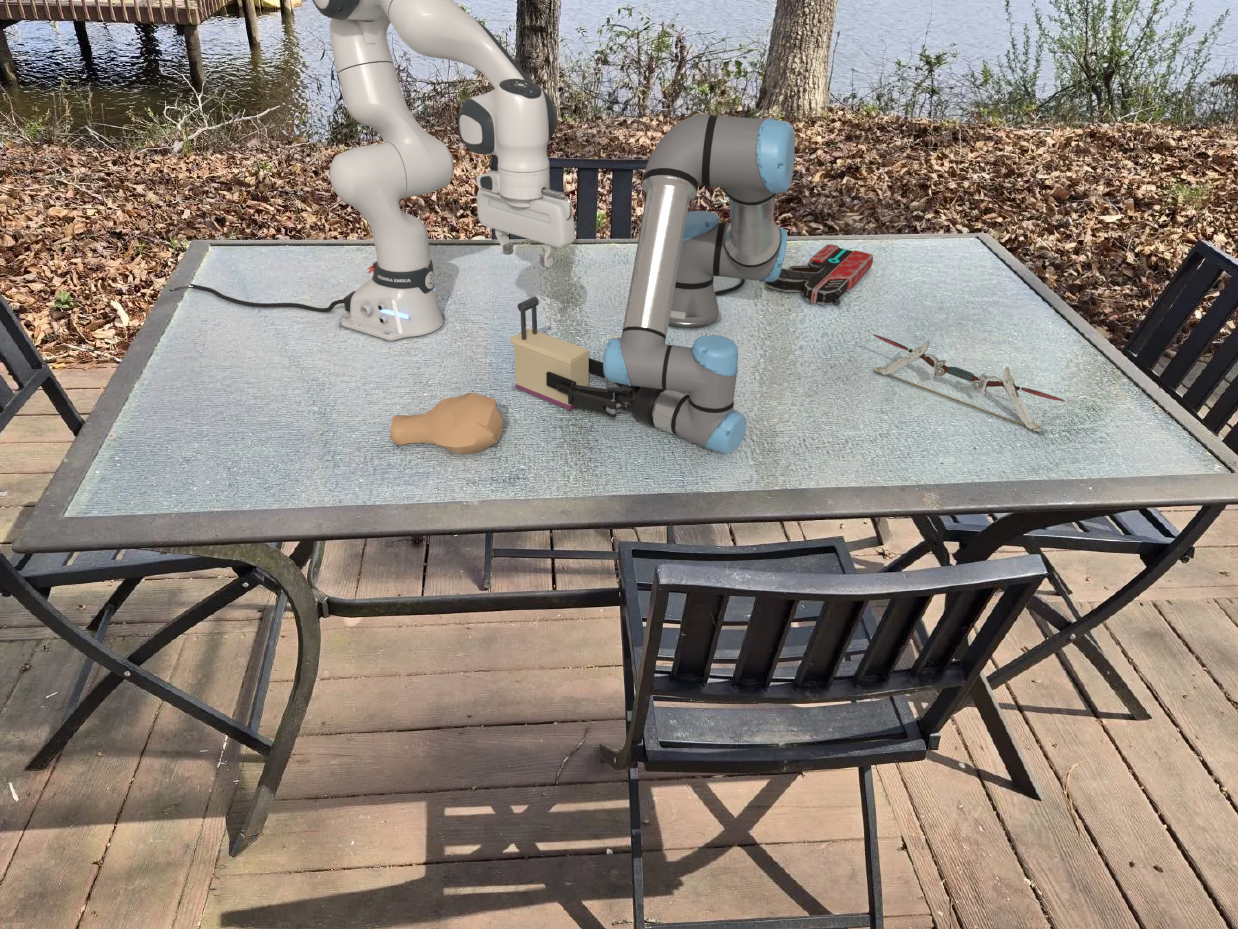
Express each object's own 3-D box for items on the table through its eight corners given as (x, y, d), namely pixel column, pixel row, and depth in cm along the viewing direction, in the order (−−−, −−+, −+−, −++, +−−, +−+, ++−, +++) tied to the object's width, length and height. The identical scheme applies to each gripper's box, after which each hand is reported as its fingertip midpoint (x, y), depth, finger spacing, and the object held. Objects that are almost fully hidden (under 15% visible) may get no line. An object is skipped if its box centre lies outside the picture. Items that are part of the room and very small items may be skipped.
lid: (510, 342, 167) (508, 301, 163) (529, 332, 171) (527, 292, 166) (570, 364, 160) (570, 322, 156) (588, 354, 164) (589, 312, 159)
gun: (761, 274, 213) (838, 293, 205) (807, 236, 235) (878, 252, 227) (759, 291, 216) (834, 311, 208) (805, 252, 238) (874, 269, 230)
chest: (516, 388, 172) (513, 344, 167) (534, 377, 176) (533, 334, 171) (570, 410, 166) (570, 365, 160) (588, 399, 169) (588, 354, 164)
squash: (504, 461, 151) (494, 421, 145) (391, 469, 152) (376, 431, 146) (510, 420, 159) (501, 381, 152) (403, 428, 160) (389, 390, 154)
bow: (1054, 434, 162) (1071, 386, 157) (1051, 438, 161) (1067, 390, 156) (868, 365, 184) (877, 321, 178) (864, 368, 183) (873, 324, 177)
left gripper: (582, 190, 148) (582, 268, 156) (493, 168, 158) (497, 242, 166) (559, 198, 144) (560, 278, 152) (469, 175, 154) (474, 251, 162)
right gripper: (626, 450, 150) (526, 408, 161) (692, 402, 164) (596, 367, 175) (628, 412, 146) (525, 372, 157) (695, 366, 160) (597, 332, 171)
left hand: (526, 259), depth 159 cm, fingers open, 8 cm apart
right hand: (563, 369), depth 166 cm, fingers open, 8 cm apart
